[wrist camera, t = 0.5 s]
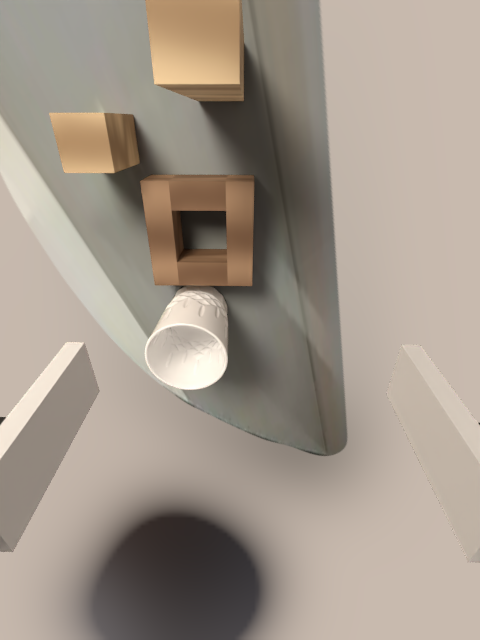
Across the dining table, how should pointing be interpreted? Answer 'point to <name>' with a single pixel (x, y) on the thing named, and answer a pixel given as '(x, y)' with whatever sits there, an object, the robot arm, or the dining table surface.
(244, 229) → the walnut hole block
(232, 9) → the long oak peg
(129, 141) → the short oak peg
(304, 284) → the dining table surface
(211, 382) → the white cup
